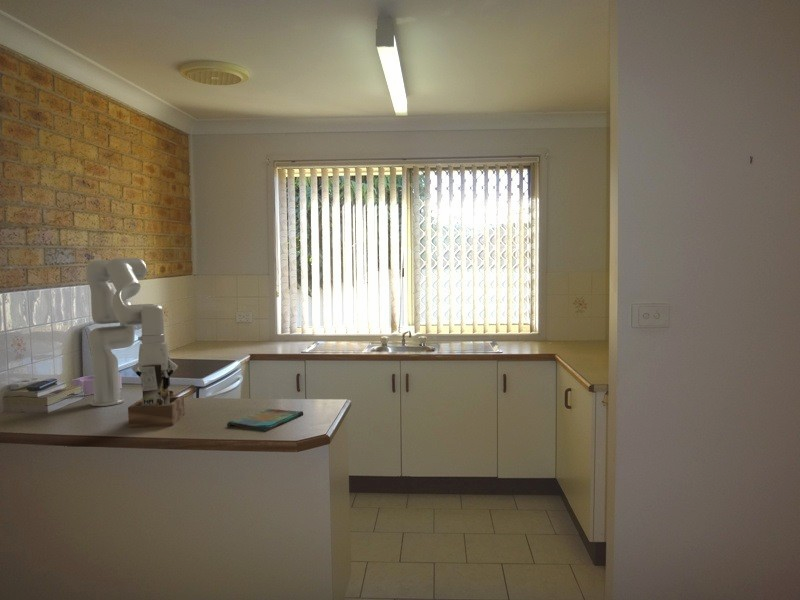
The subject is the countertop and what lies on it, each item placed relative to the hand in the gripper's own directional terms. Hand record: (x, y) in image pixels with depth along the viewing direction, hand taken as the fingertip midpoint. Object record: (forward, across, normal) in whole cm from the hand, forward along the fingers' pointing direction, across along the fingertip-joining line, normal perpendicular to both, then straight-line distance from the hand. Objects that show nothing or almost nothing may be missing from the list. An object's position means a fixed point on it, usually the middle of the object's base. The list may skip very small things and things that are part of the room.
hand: (156, 388), depth 223 cm
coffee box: (+7, 0, 0) cm, 7 cm away
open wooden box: (+12, 0, 0) cm, 12 cm away
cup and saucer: (+12, -4, +21) cm, 25 cm away
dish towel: (+13, +40, -7) cm, 42 cm away
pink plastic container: (+12, -45, +61) cm, 77 cm away
